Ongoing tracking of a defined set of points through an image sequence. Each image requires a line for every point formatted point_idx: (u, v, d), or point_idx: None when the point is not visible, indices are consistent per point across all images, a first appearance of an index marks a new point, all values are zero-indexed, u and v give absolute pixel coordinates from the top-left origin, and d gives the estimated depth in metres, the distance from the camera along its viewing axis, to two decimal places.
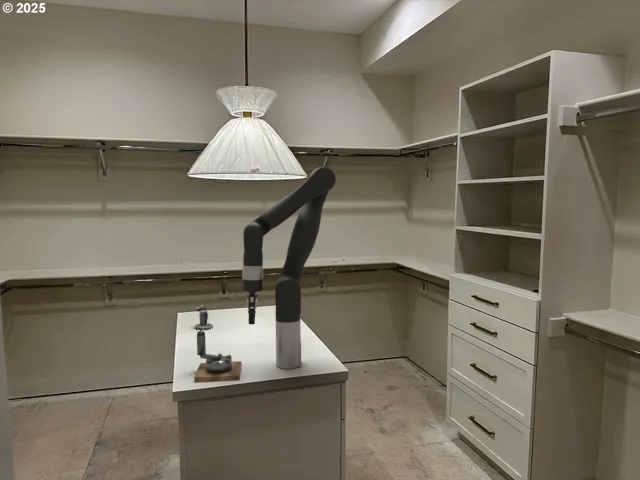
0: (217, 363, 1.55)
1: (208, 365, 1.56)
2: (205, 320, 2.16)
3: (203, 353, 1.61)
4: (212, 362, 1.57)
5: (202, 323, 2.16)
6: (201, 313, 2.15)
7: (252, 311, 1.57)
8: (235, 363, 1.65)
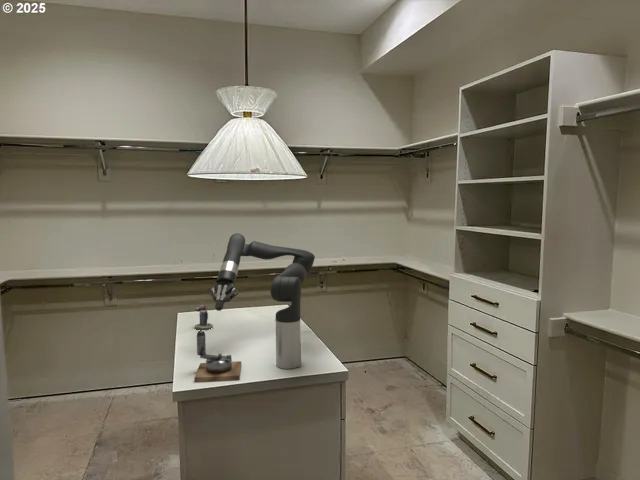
0: (217, 363, 1.55)
1: (208, 365, 1.56)
2: (205, 320, 2.16)
3: (203, 353, 1.61)
4: (212, 362, 1.57)
5: (202, 323, 2.16)
6: (201, 313, 2.15)
7: (228, 299, 1.82)
8: (235, 363, 1.65)
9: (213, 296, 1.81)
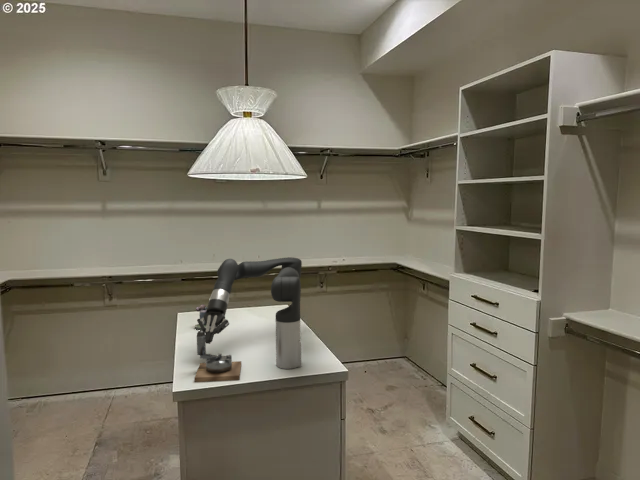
0: (217, 363, 1.55)
1: (208, 365, 1.56)
2: None
3: (203, 353, 1.61)
4: (212, 362, 1.57)
5: None
6: (201, 313, 2.15)
7: (218, 330, 1.71)
8: (235, 363, 1.65)
9: (202, 328, 1.71)
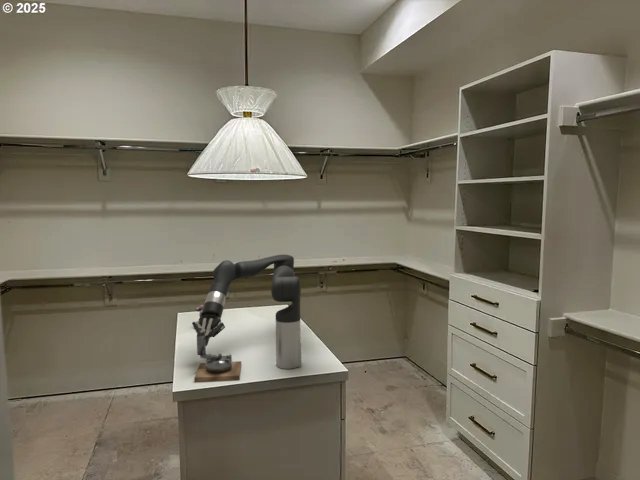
0: (217, 363, 1.55)
1: (208, 365, 1.56)
2: None
3: (203, 353, 1.61)
4: (212, 362, 1.57)
5: None
6: (201, 313, 2.15)
7: (214, 334, 1.67)
8: (235, 363, 1.65)
9: (197, 331, 1.67)
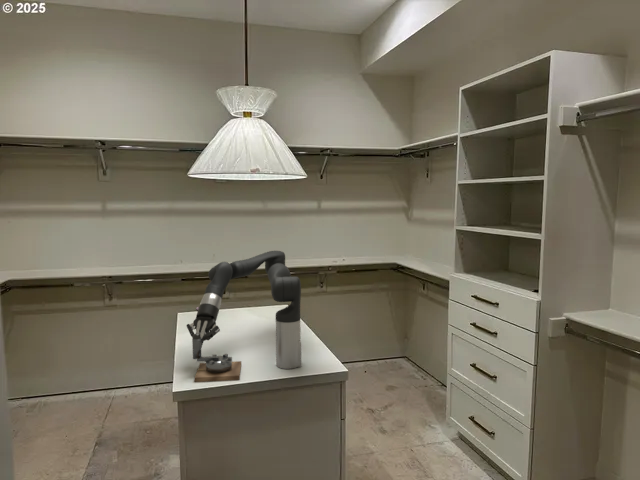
0: (224, 362, 1.56)
1: (213, 366, 1.55)
2: None
3: (200, 356, 1.58)
4: (216, 363, 1.56)
5: None
6: None
7: (208, 337, 1.63)
8: (235, 363, 1.65)
9: (191, 334, 1.63)
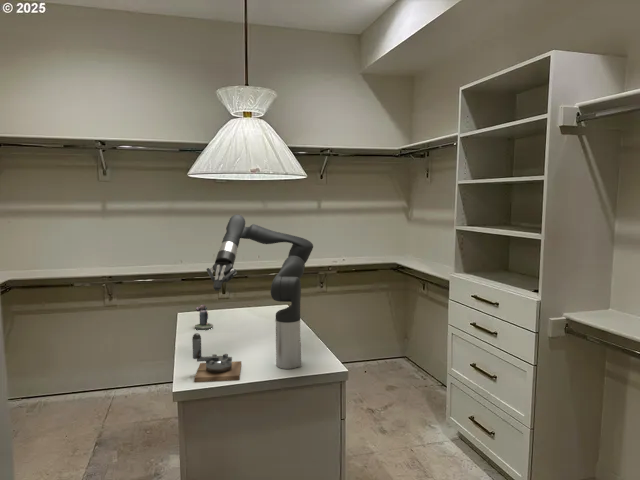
0: (224, 362, 1.56)
1: (213, 366, 1.55)
2: (205, 320, 2.16)
3: (200, 356, 1.58)
4: (216, 363, 1.56)
5: (202, 323, 2.16)
6: (201, 313, 2.15)
7: (227, 279, 1.79)
8: (235, 363, 1.65)
9: (211, 276, 1.79)
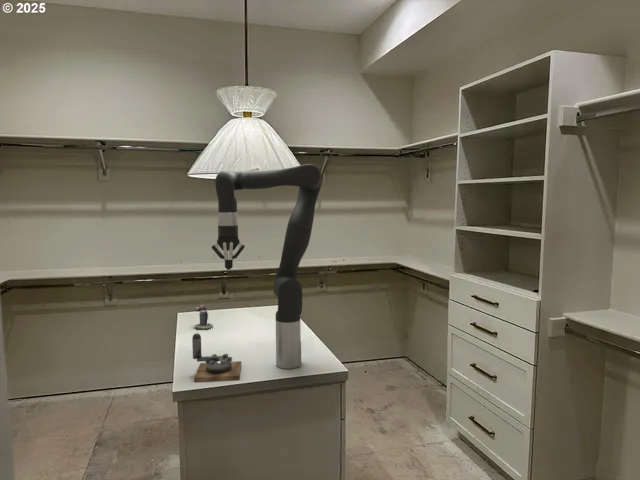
0: (224, 362, 1.56)
1: (213, 366, 1.55)
2: (205, 320, 2.16)
3: (200, 356, 1.58)
4: (216, 363, 1.56)
5: (202, 323, 2.16)
6: (201, 313, 2.15)
7: None
8: (235, 363, 1.65)
9: (220, 256, 1.70)
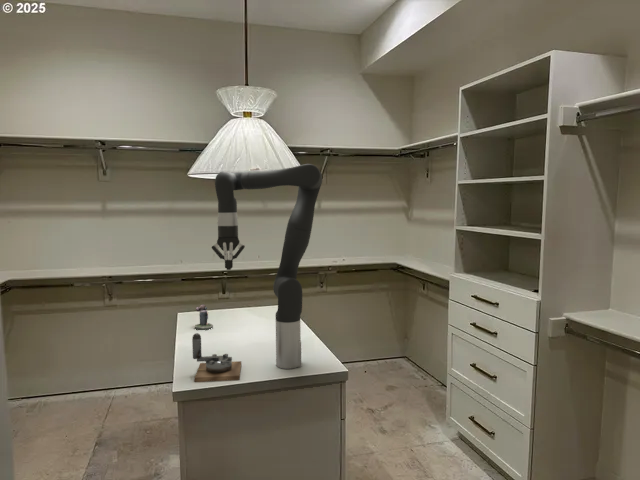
0: (224, 362, 1.56)
1: (213, 366, 1.55)
2: (205, 320, 2.16)
3: (200, 356, 1.58)
4: (216, 363, 1.56)
5: (202, 323, 2.16)
6: (201, 313, 2.15)
7: None
8: (235, 363, 1.65)
9: (220, 256, 1.70)
